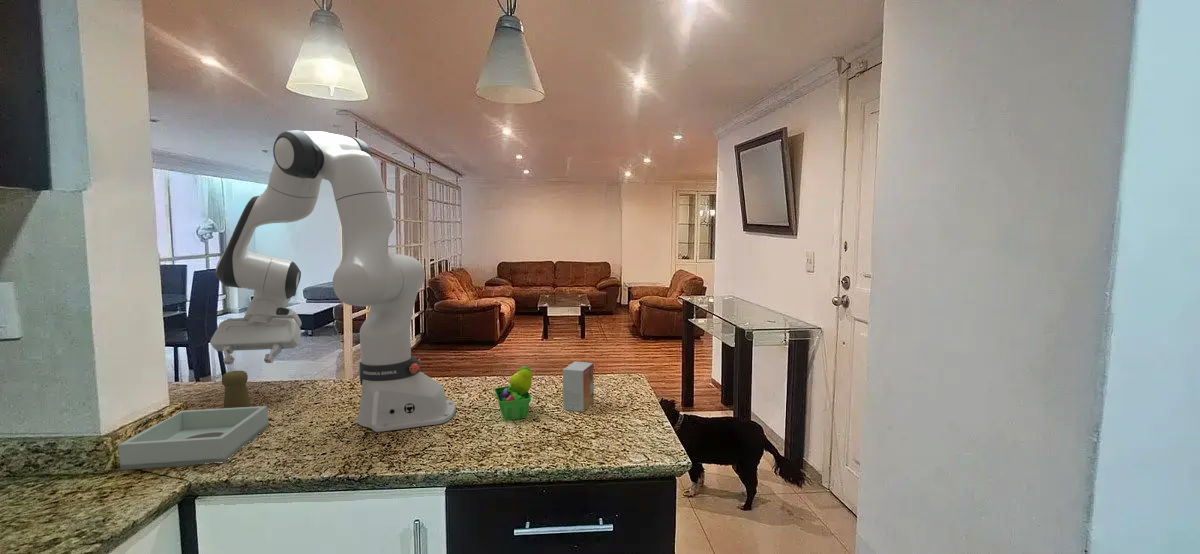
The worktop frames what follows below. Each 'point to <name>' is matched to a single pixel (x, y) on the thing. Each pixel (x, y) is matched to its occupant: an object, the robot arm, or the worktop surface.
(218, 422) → the grey square tray
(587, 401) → the small box
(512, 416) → the fruit basket
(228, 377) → the cork
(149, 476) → the worktop surface
